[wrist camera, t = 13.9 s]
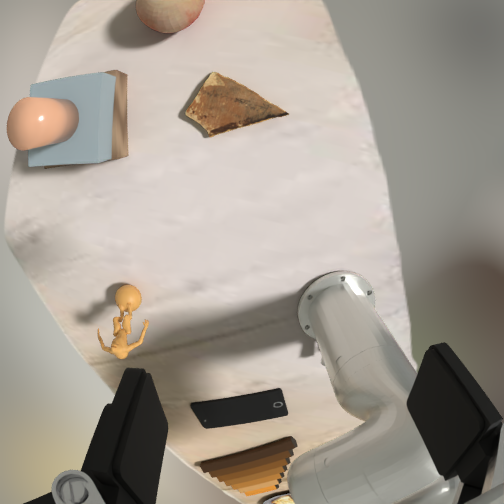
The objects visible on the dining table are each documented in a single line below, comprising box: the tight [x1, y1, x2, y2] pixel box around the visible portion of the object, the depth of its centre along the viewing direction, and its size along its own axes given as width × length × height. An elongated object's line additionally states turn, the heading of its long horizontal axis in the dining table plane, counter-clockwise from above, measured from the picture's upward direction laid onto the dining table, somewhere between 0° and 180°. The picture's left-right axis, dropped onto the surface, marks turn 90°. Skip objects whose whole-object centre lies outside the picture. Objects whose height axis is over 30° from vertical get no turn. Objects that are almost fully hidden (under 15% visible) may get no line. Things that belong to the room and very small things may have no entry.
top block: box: [28, 72, 116, 167], centre depth 29 cm, size 10×10×4 cm
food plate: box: [263, 493, 295, 504], centre depth 78 cm, size 25×23×4 cm
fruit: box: [136, 0, 205, 33], centre depth 26 cm, size 8×8×8 cm
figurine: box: [98, 285, 149, 359], centre depth 39 cm, size 8×6×12 cm
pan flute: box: [200, 436, 297, 496], centre depth 66 cm, size 25×3×25 cm
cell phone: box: [191, 388, 288, 429], centre depth 56 cm, size 9×18×1 cm, turn 104°
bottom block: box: [44, 70, 128, 169], centre depth 32 cm, size 11×11×4 cm
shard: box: [185, 72, 289, 137], centre depth 35 cm, size 11×8×2 cm
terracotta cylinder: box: [7, 97, 79, 150], centre depth 23 cm, size 5×5×7 cm
